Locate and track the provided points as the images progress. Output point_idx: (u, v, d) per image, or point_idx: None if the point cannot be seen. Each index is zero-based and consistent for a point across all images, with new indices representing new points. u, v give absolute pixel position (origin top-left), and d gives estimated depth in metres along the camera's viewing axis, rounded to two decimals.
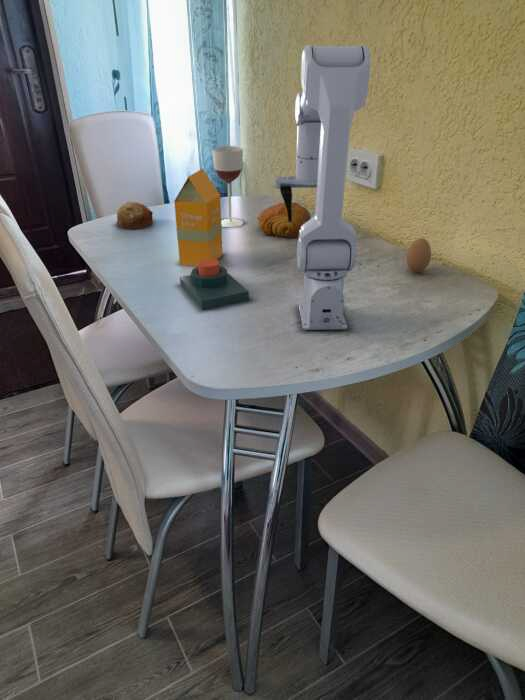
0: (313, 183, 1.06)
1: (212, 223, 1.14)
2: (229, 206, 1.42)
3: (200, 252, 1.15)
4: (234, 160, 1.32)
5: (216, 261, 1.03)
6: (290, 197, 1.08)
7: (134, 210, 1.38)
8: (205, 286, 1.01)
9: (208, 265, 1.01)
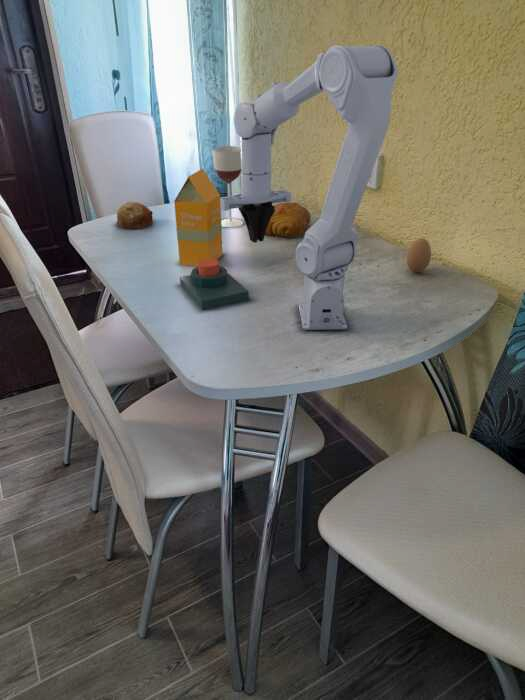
0: (266, 200, 0.97)
1: (212, 223, 1.14)
2: None
3: (200, 252, 1.15)
4: (234, 160, 1.32)
5: (216, 261, 1.03)
6: (257, 216, 0.99)
7: (134, 210, 1.38)
8: (205, 286, 1.01)
9: (208, 265, 1.01)
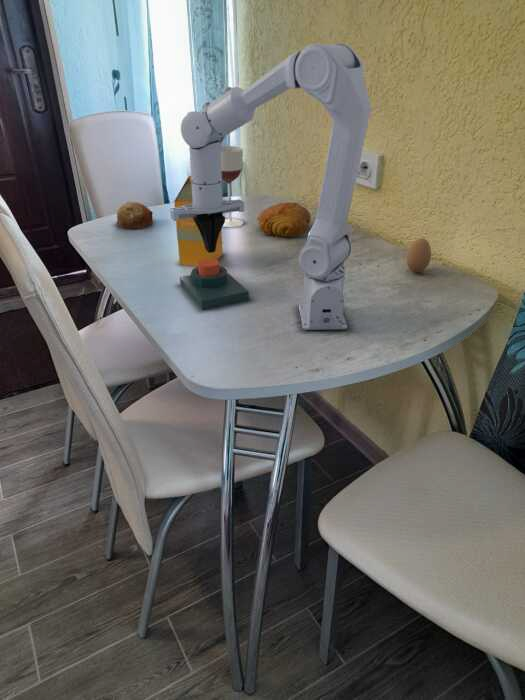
0: (217, 210, 0.95)
1: None
2: None
3: (200, 252, 1.15)
4: (234, 160, 1.32)
5: (216, 261, 1.03)
6: (210, 226, 0.97)
7: (134, 210, 1.38)
8: (205, 286, 1.01)
9: (208, 265, 1.01)
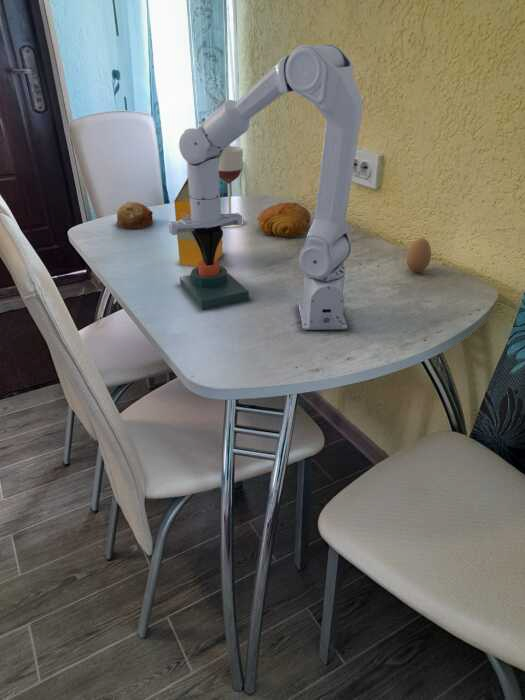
0: (215, 224, 0.96)
1: None
2: (229, 206, 1.42)
3: (200, 252, 1.15)
4: (234, 160, 1.32)
5: (216, 262, 1.03)
6: (208, 240, 0.98)
7: (134, 210, 1.38)
8: (205, 286, 1.01)
9: (208, 266, 1.01)
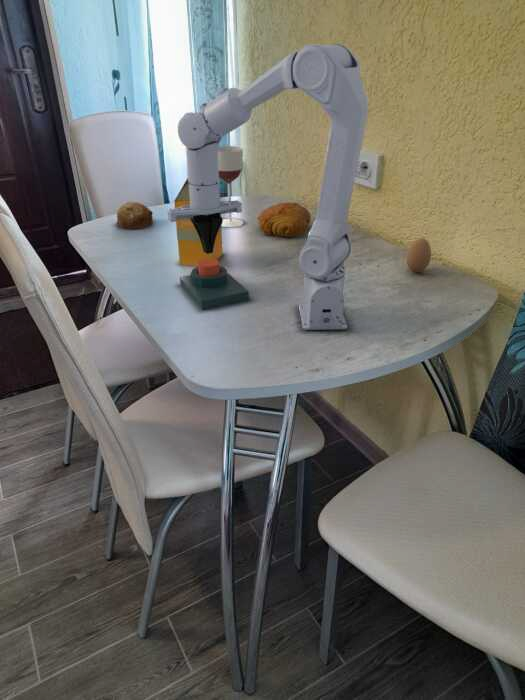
0: (214, 211, 0.95)
1: None
2: None
3: (200, 252, 1.15)
4: (234, 160, 1.32)
5: (216, 261, 1.03)
6: (208, 227, 0.96)
7: (134, 210, 1.38)
8: (205, 286, 1.01)
9: (208, 265, 1.01)
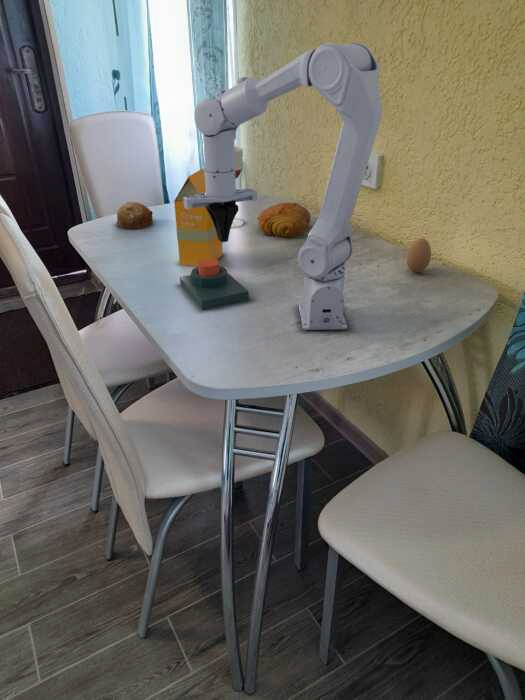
0: (230, 199, 0.95)
1: (212, 223, 1.13)
2: None
3: (200, 252, 1.15)
4: None
5: (216, 261, 1.03)
6: (224, 215, 0.96)
7: (134, 210, 1.38)
8: (205, 286, 1.01)
9: (208, 265, 1.01)
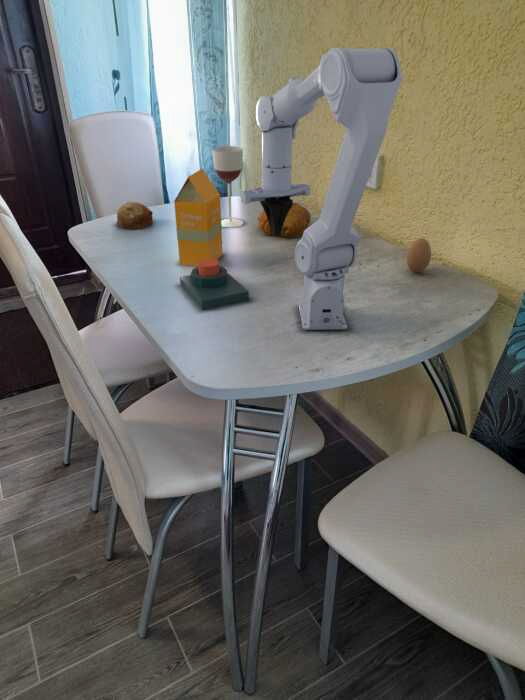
0: (286, 193, 0.98)
1: (212, 223, 1.14)
2: (229, 206, 1.42)
3: (200, 252, 1.15)
4: (234, 160, 1.32)
5: (216, 261, 1.03)
6: (279, 209, 0.99)
7: (134, 210, 1.38)
8: (205, 286, 1.01)
9: (208, 265, 1.01)
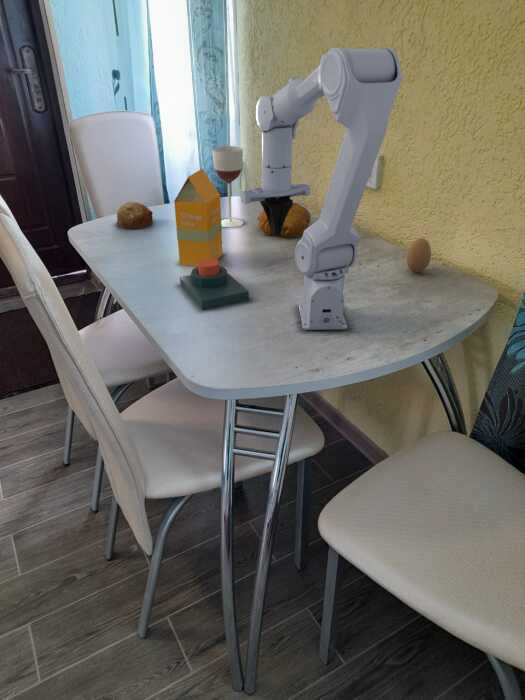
0: (286, 193, 0.98)
1: (212, 223, 1.14)
2: (229, 206, 1.42)
3: (200, 252, 1.15)
4: (234, 160, 1.32)
5: (216, 261, 1.03)
6: (279, 209, 0.99)
7: (134, 210, 1.38)
8: (205, 286, 1.01)
9: (208, 265, 1.01)
